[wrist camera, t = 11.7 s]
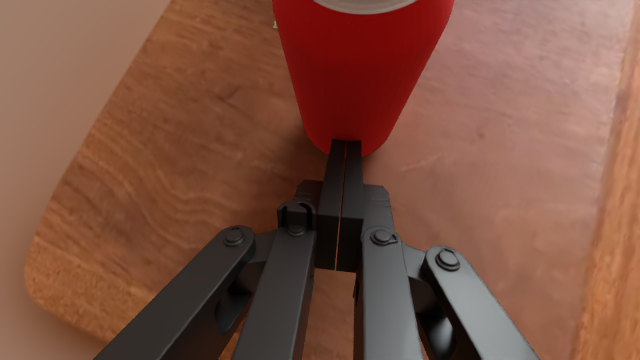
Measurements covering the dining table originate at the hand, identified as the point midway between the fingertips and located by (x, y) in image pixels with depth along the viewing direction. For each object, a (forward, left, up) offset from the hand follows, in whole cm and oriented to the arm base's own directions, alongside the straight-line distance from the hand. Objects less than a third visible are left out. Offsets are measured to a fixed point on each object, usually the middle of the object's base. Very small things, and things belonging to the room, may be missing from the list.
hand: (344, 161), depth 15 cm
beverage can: (0, +4, -3) cm, 5 cm away
